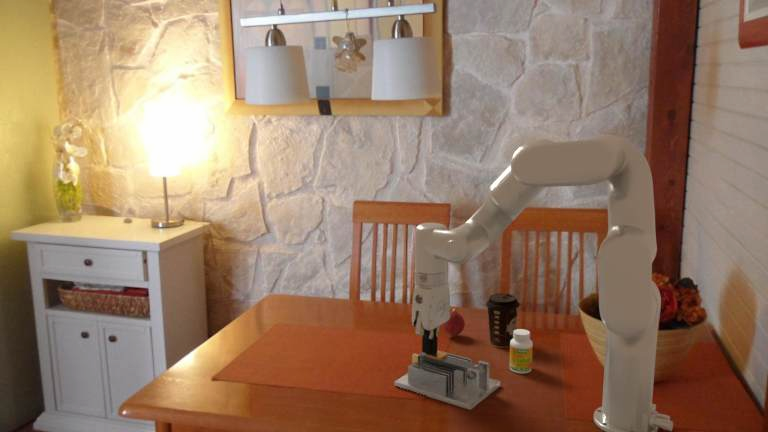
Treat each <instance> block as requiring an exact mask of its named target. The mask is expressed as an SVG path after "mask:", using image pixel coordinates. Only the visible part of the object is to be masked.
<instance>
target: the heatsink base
mask: <svg viewBox="0 0 768 432" xmlns="http://www.w3.org/2000/svg"><path fill="white" fill-rule="evenodd" d="M437 351H438V352H442V353H446V354H447V356H448V357H451V358H455V359H458V360H462V361H466V362H469V363H472V359H471V358H469V357H464V356H461V355H456V354H453V353H450V352H447V351H446V352H445V351H441V350H439V349H437ZM419 354H420V353H419ZM419 354H417V353H416V352H415V353H413V354H411V364H410V365H407V372H406V373H405V374H404V375H402V376H401V377H400V378H398V379H396V380H395V381H394V387H395V386H398V387H400V388H399V389H402V388H403V389H402V390H405V389H407V390H406V391H408V390H411V391H414V392H417V393H416V394H418V393H420V394H419V395H421V394H423V395H422V396H424V395H426V396H425V397H428V398H431V399H433V400H434V399H435V400H437V401H440V402H443V403H447V404H450V405H452V406H453V405H454V406H457V407H460V408H462V409H466V410H470V411H471V410H472V409H474V408H475V407H476V406H477V405H479V404H480V403H481V402H482V401H484V400H485V399H486V398H487V397H489V396H490V395H491V394H492V393H494V392H495V391H496V390H497V389H498V388H499V387H501V381H500V380H497V379H493V378H490V362H488V361H484V360H478V361H477V362H476V363H477V364H478V363H483V364H484V365H485V366H486V372H485V373H483V374H482V375H481V376H479V370H476V369H472V368H469V369H467V372H463V371H460V370H456V369H453V368H450V367H446V366H443V365H439V364H436V363H432V362H429V361H425V360H422V359H420V355H419ZM477 364H476V365H477ZM398 387H397V388H398ZM411 391H410V392H411ZM414 392H413V393H414Z"/></svg>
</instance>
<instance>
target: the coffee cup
mask: <svg viewBox="0 0 768 432" xmlns="http://www.w3.org/2000/svg"><path fill="white" fill-rule="evenodd" d="M485 305H486V307H487V320H488V321H487V322H488V338H489V345H490V346H492V347H493V348H494V347H495V348H501V349H503V348H510V341H511V340H512V339H513V338H514V337H513V331H514V330H516V328H517V320H518V311H517V309H519V308H520V305H521V304H520V302H519V301H518V299H517V298H516V296H514V295H513V294H510V293H494V294H491V295H489V297H488V299H487V301H486V303H485Z"/></svg>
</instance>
